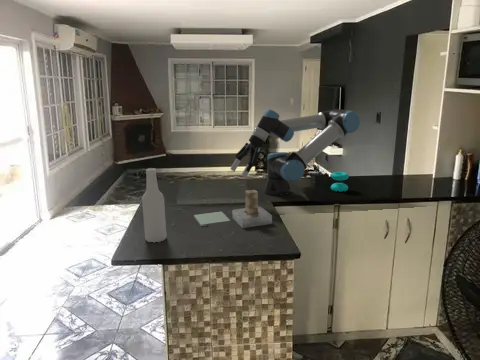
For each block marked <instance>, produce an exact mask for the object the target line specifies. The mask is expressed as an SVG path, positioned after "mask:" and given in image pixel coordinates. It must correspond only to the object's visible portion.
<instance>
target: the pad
mask: <svg viewBox="0 0 480 360" xmlns="http://www.w3.org/2000/svg"><path fill="white" fill-rule="evenodd" d="M193 218H194V219H195V221H196V222H197V223H198V224H199V226H200V227H209V224H216V223H222V222H223V223H224V222H230V221H231V219H229V217H227V215H226V214H225V213H224V212H223V211H214V212H207V213H199V214H194V215H193Z"/></svg>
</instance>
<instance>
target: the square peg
mask: <svg viewBox="0 0 480 360" xmlns="http://www.w3.org/2000/svg"><path fill="white" fill-rule="evenodd" d="M244 193H245V199H244V200H245V201H244V202H245V203H244V205H245V207H244V208H246V214H247V215H253V214H258V206H259V192H258V191H257V190H256V189H247V190H245V191H244Z"/></svg>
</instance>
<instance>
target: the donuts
mask: <svg viewBox="0 0 480 360" xmlns="http://www.w3.org/2000/svg"><path fill="white" fill-rule="evenodd" d="M330 177H331V178H332V179H333V180H334V181H346V180H348V179H349V177H350V175H349V173H347V172H345V171H335V172H332V173H331V174H330ZM330 190H331V191H333V192H337V191H339V193H343V191H344V192H346V191H348V190H349V186H348V184H346V183H344V182H335V183H332V184H331V186H330Z"/></svg>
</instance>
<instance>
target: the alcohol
mask: <svg viewBox="0 0 480 360" xmlns="http://www.w3.org/2000/svg"><path fill="white" fill-rule="evenodd" d="M156 170H157V169H156V167H155V168H153V167H148V168H147V169H145V174H146V175H145V176H146V180H145V181H146V182H145V183H146V189H145V192H144V193H143V196H142V197H141V198H142V199H141V204H142V206H141V207H142V216H143V228H144V230H143V231H144V239H145V241H146V242H148V243H150V242H153V243H152V244H154V243H155V242H158V243H161V241H162V242H164V241H165V240H166V238H167V237H168V236H167V221H166V207H165V197H164V194H163V193H162V192H161V191H160V190H159V185H158V179H157V171H156ZM155 244H156V243H155Z"/></svg>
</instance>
